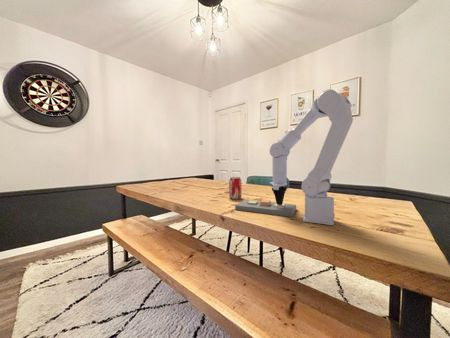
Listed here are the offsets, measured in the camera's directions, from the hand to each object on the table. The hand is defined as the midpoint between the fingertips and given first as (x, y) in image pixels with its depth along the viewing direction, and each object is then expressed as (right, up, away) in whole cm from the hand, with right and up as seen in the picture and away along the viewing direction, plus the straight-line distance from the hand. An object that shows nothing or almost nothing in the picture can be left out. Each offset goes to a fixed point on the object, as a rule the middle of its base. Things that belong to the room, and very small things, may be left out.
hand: (279, 204), depth 78 cm
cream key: (0, -2, 0) cm, 2 cm away
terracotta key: (-5, -1, +3) cm, 6 cm away
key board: (-5, -3, +3) cm, 7 cm away
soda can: (-17, -2, +27) cm, 32 cm away
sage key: (-11, -2, +6) cm, 12 cm away
